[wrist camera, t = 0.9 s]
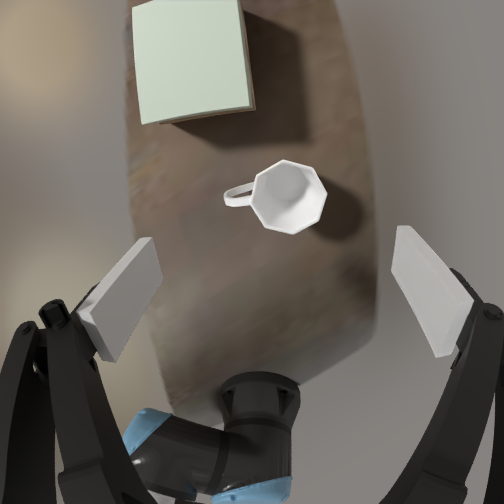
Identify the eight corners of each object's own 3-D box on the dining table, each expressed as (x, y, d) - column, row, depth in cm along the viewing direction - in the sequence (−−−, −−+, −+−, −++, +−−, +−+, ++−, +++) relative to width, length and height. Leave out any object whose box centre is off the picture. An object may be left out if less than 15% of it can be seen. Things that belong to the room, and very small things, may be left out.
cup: (318, 205, 33) (330, 230, 26) (235, 216, 35) (225, 243, 27) (311, 146, 30) (323, 154, 23) (224, 159, 32) (209, 171, 24)
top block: (252, 107, 26) (249, 105, 22) (157, 123, 27) (141, 124, 23) (239, -3, 20) (234, -18, 16) (147, 18, 21) (132, 7, 17)
